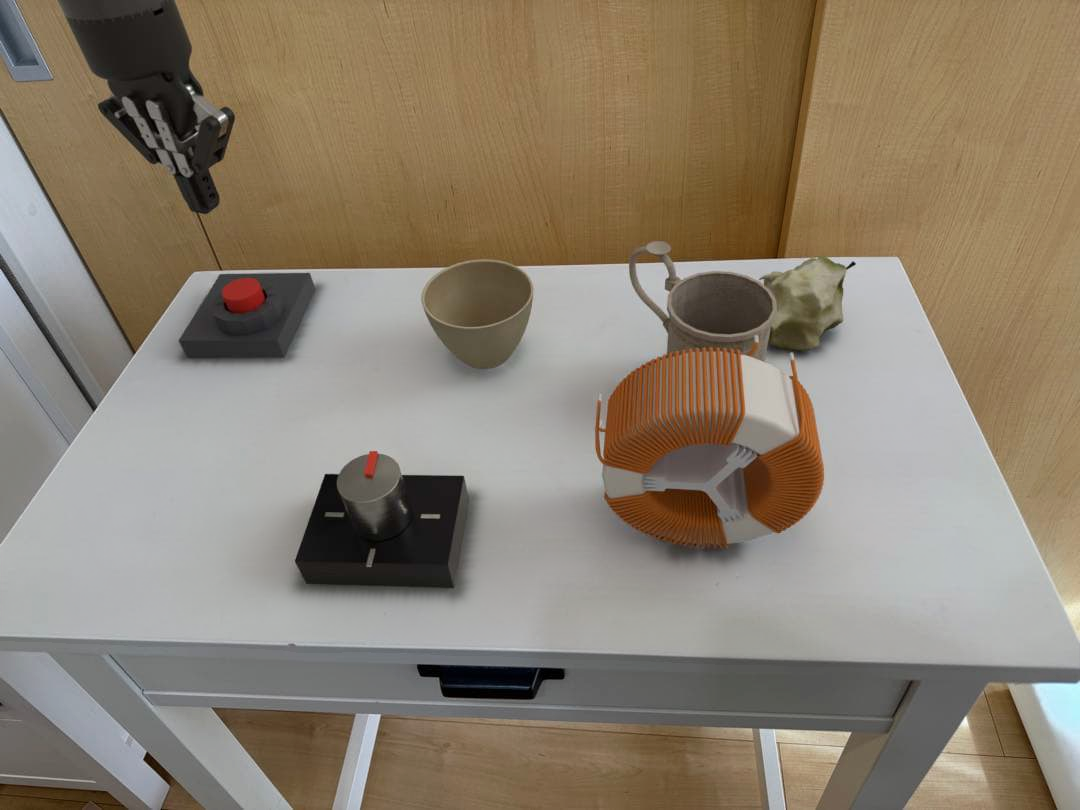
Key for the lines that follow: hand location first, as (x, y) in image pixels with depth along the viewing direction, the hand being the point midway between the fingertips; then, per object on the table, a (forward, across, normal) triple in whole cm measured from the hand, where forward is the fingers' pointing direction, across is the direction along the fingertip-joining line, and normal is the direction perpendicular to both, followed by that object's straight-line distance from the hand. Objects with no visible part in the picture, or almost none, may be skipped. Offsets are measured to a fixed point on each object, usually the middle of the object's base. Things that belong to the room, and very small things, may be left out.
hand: (206, 208), depth 68 cm
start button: (+11, 0, 0) cm, 11 cm away
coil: (+14, +47, -6) cm, 50 cm away
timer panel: (+14, +26, -17) cm, 34 cm away
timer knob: (+11, +27, -17) cm, 33 cm away
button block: (+14, -2, +1) cm, 14 cm away
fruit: (+14, +50, +18) cm, 55 cm away
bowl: (+14, +24, +5) cm, 28 cm away
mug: (+14, +42, +8) cm, 46 cm away
